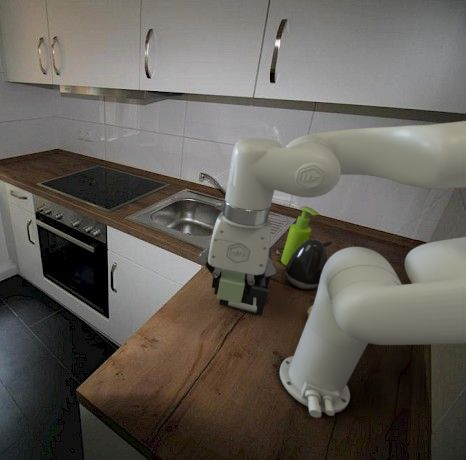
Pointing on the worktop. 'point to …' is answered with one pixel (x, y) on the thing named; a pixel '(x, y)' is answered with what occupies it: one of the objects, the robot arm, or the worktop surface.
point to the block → (231, 286)
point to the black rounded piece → (307, 264)
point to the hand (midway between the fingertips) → (229, 292)
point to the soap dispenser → (297, 234)
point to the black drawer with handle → (251, 299)
